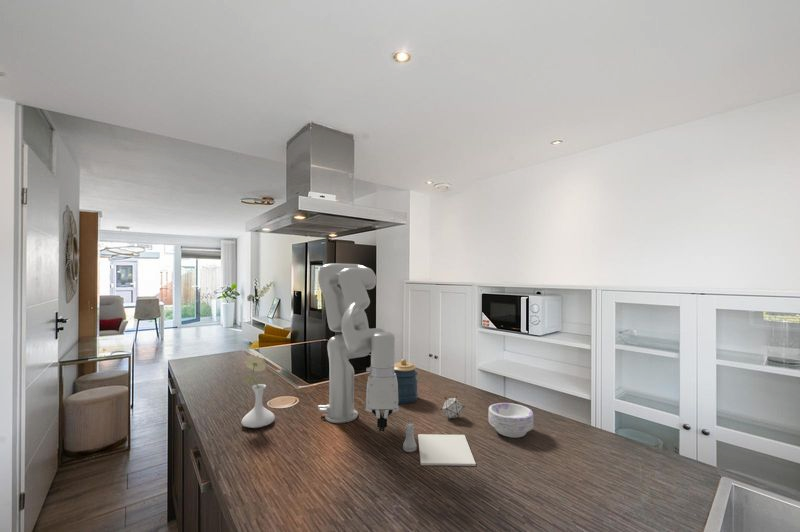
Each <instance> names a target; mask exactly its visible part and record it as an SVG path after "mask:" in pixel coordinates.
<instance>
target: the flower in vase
mask: <svg viewBox="0 0 800 532" xmlns="http://www.w3.org/2000/svg"><path fill="white" fill-rule="evenodd" d="M244 364H246V365H245V366H246V367H247V368H248V369H250V370H251V371H252V373H251V374H252V375H251V376H250V375H247V376H246V377H245V378H244V379H243V381H248V382H249V383H250V382H251V383H252V382H254V384H253V385H252V386H251V389H252V391H253V392H254V396H255V398H254V399H255V403H254V407H253V408H252V409H251V410H250V411H249V412H247V414H245V415H244V416H243V418H242V419H241V424H242V426H243V427H244V428H252V429H257V428H263V427H265V426H268V425H270V424H272V423H273V422H274V421H275V419H276V416H275V413H273V412H272V411H271V410H269V409H267V408H265V406H263V394H264V391H265V388H266V387H267V385H266V384H264V383H261V382H263V381H264V380H265V379H266V377H262V378H260V379H259V380H257V381H256V380H255V378H254V373H255V372H260V371H264V370H266V368H267V362H266V360H265V358H263V357H260V356H259V355H258V354H257V355H255V354H252V355H251V354H250V355H249V356H246V357H245V359H244ZM254 371H255V372H254ZM259 383H261V384H259Z"/></svg>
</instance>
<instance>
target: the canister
mask: <svg viewBox="0 0 800 532" xmlns="http://www.w3.org/2000/svg"><path fill="white" fill-rule="evenodd" d="M418 373H419V372H418V371H417V367H416V365H415V364H414V363H412V362H410V361H409V362H407V359H405V358H402V359H400V361H397V362H394V374H395V375H396V376H397V382H398V404H401V405H402V404H405V405H406V404H412V403H415V402H416V401H417V400H418V396H419V395H418V394H419V393H418V382H419V379H418V377H417V375H418Z"/></svg>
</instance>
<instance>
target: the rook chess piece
mask: <svg viewBox="0 0 800 532" xmlns="http://www.w3.org/2000/svg"><path fill="white" fill-rule="evenodd" d="M404 428H405V439H404V442H403V445H402V449H403V451H404V452H406V453H414V452H416V451H417V449H418V447H417V446H418V445H417V443H416V440H415V428H416V426H415V423H414V422H406V423H405V426H404Z"/></svg>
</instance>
